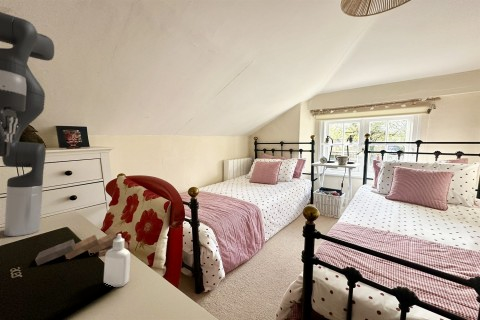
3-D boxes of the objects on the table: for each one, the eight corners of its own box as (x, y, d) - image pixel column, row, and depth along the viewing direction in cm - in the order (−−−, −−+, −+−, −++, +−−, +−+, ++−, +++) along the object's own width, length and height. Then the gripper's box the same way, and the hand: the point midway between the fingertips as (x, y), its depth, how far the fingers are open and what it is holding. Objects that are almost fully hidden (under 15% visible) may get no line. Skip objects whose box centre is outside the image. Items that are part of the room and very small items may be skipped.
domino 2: (87, 250, 63) (116, 235, 67) (86, 245, 67) (114, 231, 71) (90, 255, 63) (118, 240, 68) (88, 249, 67) (116, 236, 72)
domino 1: (64, 254, 60) (96, 239, 64) (64, 248, 64) (95, 234, 68) (67, 260, 60) (99, 244, 65) (67, 253, 64) (97, 239, 69)
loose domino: (34, 259, 56) (71, 245, 61) (39, 252, 60) (73, 239, 65) (37, 265, 57) (73, 250, 61) (41, 257, 61) (75, 244, 65)
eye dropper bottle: (111, 291, 48) (114, 240, 48) (101, 282, 52) (104, 233, 51) (130, 283, 52) (133, 235, 52) (120, 274, 55) (123, 229, 55)
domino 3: (99, 252, 64) (128, 247, 68) (99, 245, 68) (127, 241, 72) (98, 258, 64) (128, 252, 68) (98, 251, 68) (126, 247, 72)
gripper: (13, 87, 52) (9, 157, 52) (34, 99, 63) (31, 156, 63) (-32, 80, 48) (-37, 155, 48) (-1, 94, 60) (-5, 154, 60)
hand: (2, 156), depth 56 cm, fingers closed
